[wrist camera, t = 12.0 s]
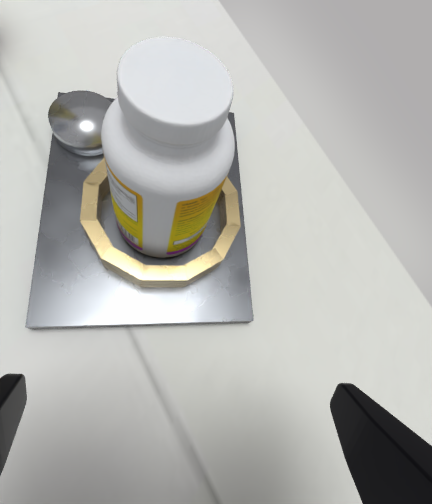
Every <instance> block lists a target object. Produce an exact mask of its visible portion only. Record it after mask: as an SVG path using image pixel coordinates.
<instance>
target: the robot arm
mask: <svg viewBox="0 0 432 504" xmlns="http://www.w3.org/2000/svg"><path fill="white" fill-rule="evenodd" d="M26 400H27V394H26V383H25V376H24V375H23V374H6V375H4V376H2V377H1V378H0V475H1V473H2V470H3V468H4V465H5V463H6V460H7V457H8V454H9V451H10V448H11V446H12V443H13V440H14V437H15V434H16V431H17V428H18V425H19V422H20V420H21V417H22V414H23V411H24V408H25V405H26ZM330 409H331V413H332V417H333V420H334V423H335V427H336V430H337V433H338V437H339V440H340V443H341V447H342V450H343V453H344V456H345V459H346V462H347V465H348V467H349V470H350V473H351V475H352V478H353V480H354V483H355V485H356V488H357V490H358V493H359V495H360V498H361V500H362V503H363V504H432V446H431V445H430V444H428V443H427V442H426V441H425V440H423V439H422V438H421V437H420V436H418V435H417V434H416V433H414V432H413V431H412V430H411V429H409V428H408V427H407V426H406V425H404V424H403V423H402V422H400V421H399V420H398V419H397V418H395V417H394V416H393V415H392V414H390V413H389V412H388V411H387V410H385V409H384V408H383V407H381V406H380V405H379V404H378V403H376V402H375V401H374V400H373V399H371V398H370V397H369V396H367V395H366V394H365V393H364V392H362V391H361V390H360V389H359V388H357V387H356V386H355V385H353V384H350V383H340V384H338V385H337V387H336V390H335V392H334V394H333V397H332V399H331V401H330Z"/></svg>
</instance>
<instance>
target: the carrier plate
mask: <svg viewBox="0 0 432 504" xmlns="http://www.w3.org/2000/svg"><path fill="white" fill-rule="evenodd" d="M114 100H115V99H112V98H105V97H104V96H102V95H100V94H97V93H94V92H90V91H72V92H68V93H60V92H58V98H57V99H56V100H55V101H54V102H53V103H52V105H51V106H50V109H49V112H48V118H49V122H50V125H51V128H52V131H53V134H52V141H51V148H50V155H49V163H48V170H47V177H46V184H45V191H44V198H43V205H42V212H41V220H40V227H39V234H38V241H37V248H36V255H35V262H34V269H33V277H32V284H31V291H30V298H29V305H28V312H27V319H26V326H25V327H26V328H29V329H50V328H84V327H117V326H150V325H183V324H217V323H249V322H252V321H253V310H252V300H251V289H250V279H249V268H248V257H247V247H246V236H245V226H244V215H243V205H242V194H241V183H240V173H239V162H238V152H237V141H236V130H235V120H234V113H231V112H229V113H228V117H227V118H228V120H229V122H230V124H231V127H232V130H233V134H234V140H235V151H234V158H233V162H232V165H231V167H230V170H229V173H228V175H227V177H226V180H225V182H224V184H223V187H222V189H221V192H220V194H219V197H218V199H217V202H216V204H215V206H214V208H213V211H212V213H211V216H210V218H209V220H208V223H207V225H206V227H205V230H204V232H203V234H202V236H201V238H200V239H199V241H198V242H197V243H196V244H195V245H194V246H193V247H192V248H191V249H189V250H188V251H186V252H184V253H182V254H180V255H177V256H173V257H166V258H160V257H153V256H149V255H146V254H143V253H141V252H139V251H137V250H136V249H134V248H133V247H132V246H131V245H129V244H128V242H127V241H126V240H125V239H124V238H123V236H122V235H121V233H120V231H119V228H118V225H117V222H116V218H115V213H114V207H113V202H112V196H111V191H110V185H109V180H108V174H107V169H106V164H105V159H104V153H103V147H102V141H101V131H102V124H103V120H104V117H105V114H106V112H107V110H108V108H109V107H110V105H111V104H112V102H113V101H114Z"/></svg>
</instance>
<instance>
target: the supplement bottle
mask: <svg viewBox="0 0 432 504" xmlns="http://www.w3.org/2000/svg"><path fill="white" fill-rule="evenodd" d="M117 86H118V92H117V95H118V97H117V98H116V99H115V100H114V101H113V102H112V104H111V105H110V107H109V108H108V110H107V112H106V114H105V117H104V120H103V124H102V131H101V141H102V147H103V153H104V159H105V164H106V169H107V174H108V180H109V185H110V191H111V196H112V202H113V207H114V213H115V218H116V222H117V225H118V228H119V231H120V233H121V235H122V236H123V238H124V239H125V240H126V241H127V242H128V244H129V245H131V246H132V247H133V248H134V249H136V250H137V251H139V252H141V253H143V254H146V255H149V256H153V257H160V258H166V257H173V256H177V255H180V254H182V253H184V252H186V251H188V250H189V249H191V248H192V247H193V246H194V245H195V244H196V243H197V242H198V241H199V239H200V238H201V236H202V234H203V232H204V230H205V227H206V225H207V223H208V220H209V218H210V216H211V213H212V211H213V208H214V206H215V204H216V202H217V199H218V197H219V194H220V192H221V189H222V187H223V184H224V182H225V180H226V177H227V175H228V173H229V170H230V167H231V165H232V162H233V158H234V151H235V140H234V134H233V130H232V127H231V124H230V122H229V120H228V118H227V117H228V113H229V110H230V106H231V103H232V99H233V83H232V79H231V76H230V74H229V72H228V70H227V68H226V67H225V65H224V64H223V63H222V62H221V60H220V59H219V58H218V57H216V56H215V55H214V54H213V53H212V52H210V51H209V50H207V49H206V48H204V47H202V46H200V45H199V44H197V43H194V42H191V41H188V40H185V39H181V38H175V37H153V38H149V39H145V40H142V41H140V42H138V43H136V44H134V45H133V46H131V47H130V48H129V49H128V50H127V51H126V52H125V53H124V54H123V56H122V57H121V59H120V61H119V64H118V68H117Z"/></svg>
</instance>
